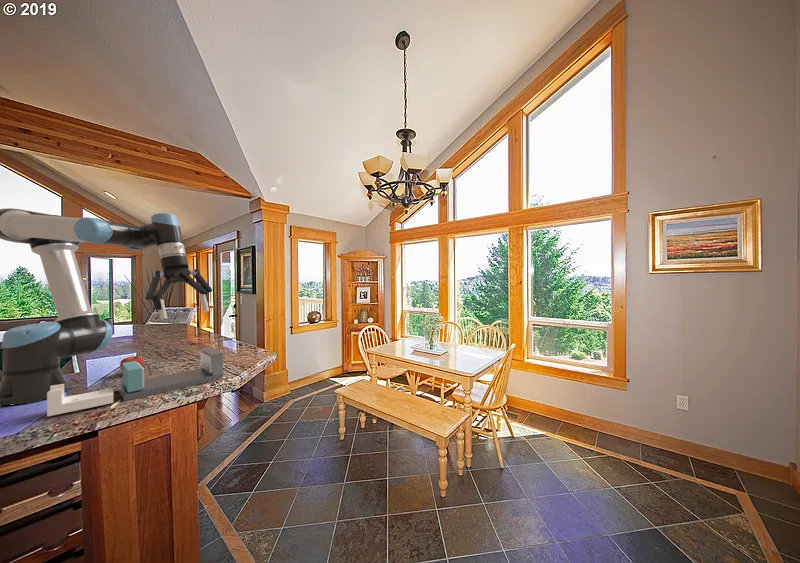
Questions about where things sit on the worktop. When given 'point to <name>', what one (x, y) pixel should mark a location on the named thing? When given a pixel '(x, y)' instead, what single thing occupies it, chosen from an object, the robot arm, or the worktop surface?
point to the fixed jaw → (211, 361)
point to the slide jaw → (133, 376)
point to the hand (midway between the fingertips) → (186, 315)
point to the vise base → (168, 383)
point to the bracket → (75, 400)
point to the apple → (133, 358)
